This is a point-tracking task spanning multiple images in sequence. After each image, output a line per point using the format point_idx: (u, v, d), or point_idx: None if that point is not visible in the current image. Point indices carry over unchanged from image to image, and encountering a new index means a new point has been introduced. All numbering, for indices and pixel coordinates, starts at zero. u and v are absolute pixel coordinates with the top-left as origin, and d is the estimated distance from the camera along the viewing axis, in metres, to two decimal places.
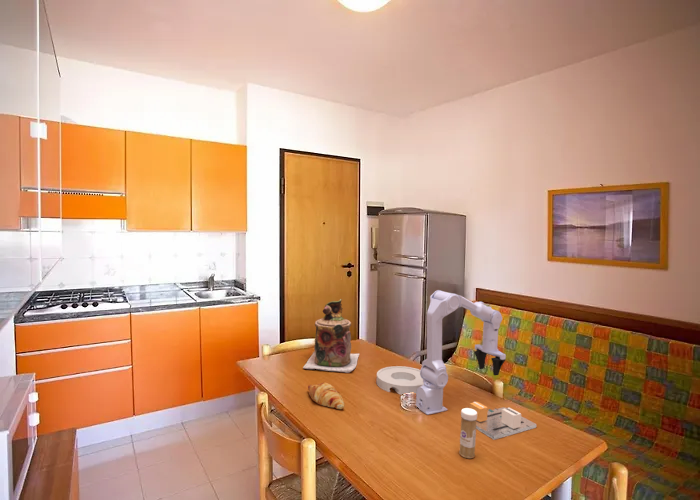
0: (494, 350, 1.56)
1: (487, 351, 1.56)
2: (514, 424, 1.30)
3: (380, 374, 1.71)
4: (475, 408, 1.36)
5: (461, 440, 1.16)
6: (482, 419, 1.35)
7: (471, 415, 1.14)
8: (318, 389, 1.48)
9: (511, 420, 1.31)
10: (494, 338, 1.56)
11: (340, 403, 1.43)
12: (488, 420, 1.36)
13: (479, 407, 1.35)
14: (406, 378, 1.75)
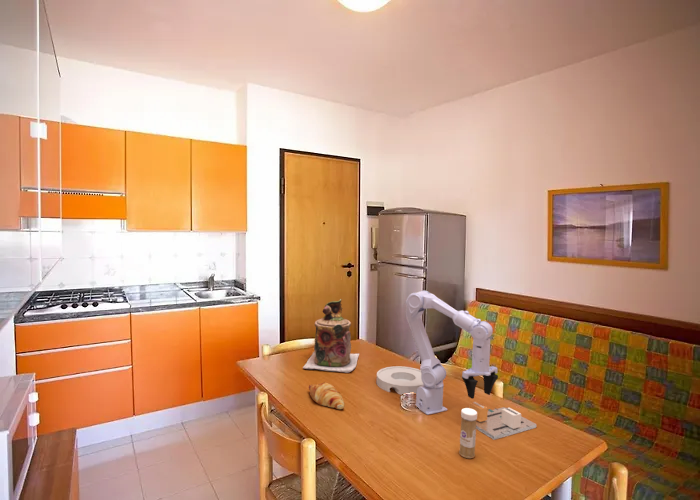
0: (473, 369, 1.35)
1: None
2: (514, 424, 1.30)
3: (380, 374, 1.71)
4: (475, 408, 1.36)
5: (461, 440, 1.16)
6: (482, 419, 1.35)
7: (471, 415, 1.14)
8: (318, 389, 1.49)
9: (511, 420, 1.31)
10: (476, 356, 1.34)
11: (340, 403, 1.43)
12: (488, 420, 1.36)
13: (479, 407, 1.35)
14: (406, 378, 1.75)
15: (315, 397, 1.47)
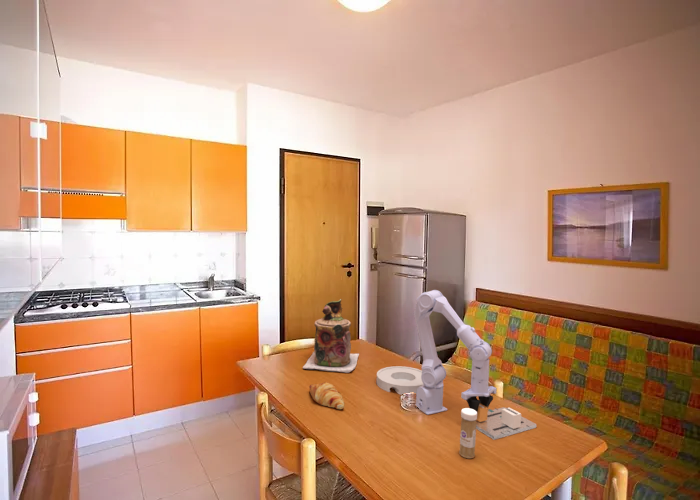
0: (472, 389, 1.36)
1: None
2: (514, 424, 1.30)
3: (380, 374, 1.71)
4: None
5: (461, 440, 1.16)
6: (482, 419, 1.35)
7: (471, 415, 1.14)
8: (319, 389, 1.49)
9: (511, 420, 1.31)
10: (475, 377, 1.35)
11: (340, 403, 1.43)
12: (488, 420, 1.36)
13: (479, 407, 1.35)
14: (406, 378, 1.75)
15: (315, 397, 1.47)
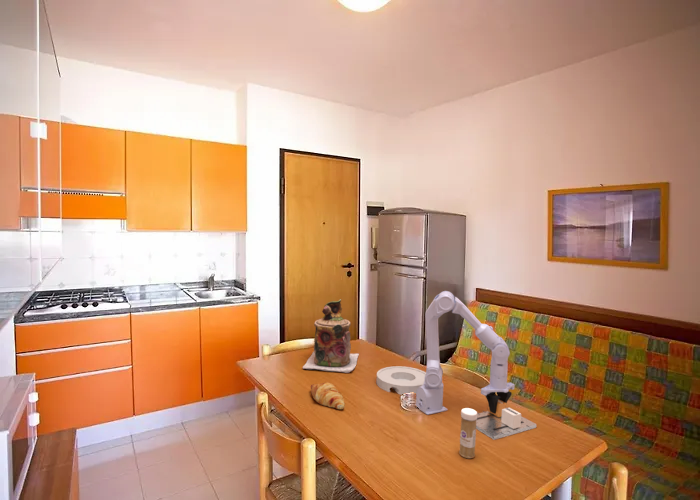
0: (491, 385, 1.40)
1: None
2: (514, 424, 1.30)
3: (380, 374, 1.71)
4: None
5: (461, 440, 1.16)
6: (501, 414, 1.39)
7: (471, 415, 1.14)
8: (319, 389, 1.49)
9: (511, 420, 1.31)
10: (497, 374, 1.38)
11: (340, 403, 1.43)
12: (488, 420, 1.36)
13: (498, 403, 1.39)
14: (406, 378, 1.75)
15: (316, 397, 1.47)
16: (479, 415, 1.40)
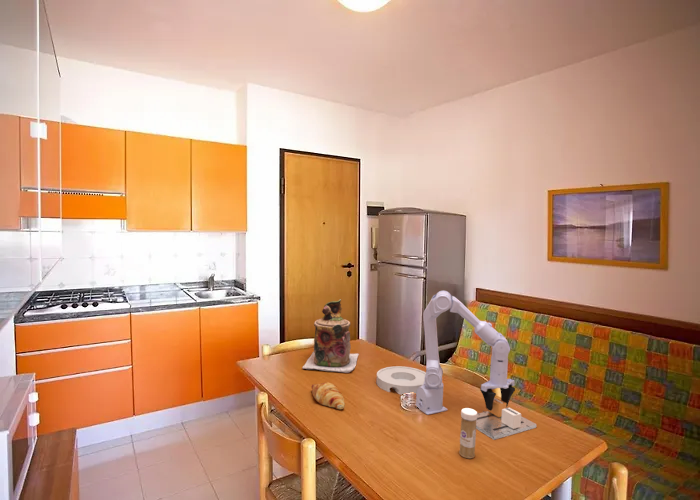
0: (491, 382, 1.40)
1: None
2: (514, 424, 1.30)
3: (380, 374, 1.71)
4: (494, 404, 1.40)
5: (461, 440, 1.16)
6: (501, 414, 1.39)
7: (471, 415, 1.14)
8: (320, 388, 1.49)
9: (511, 420, 1.31)
10: (497, 370, 1.38)
11: (340, 403, 1.43)
12: (488, 420, 1.36)
13: (498, 403, 1.39)
14: (406, 378, 1.75)
15: (316, 396, 1.48)
16: (479, 415, 1.40)
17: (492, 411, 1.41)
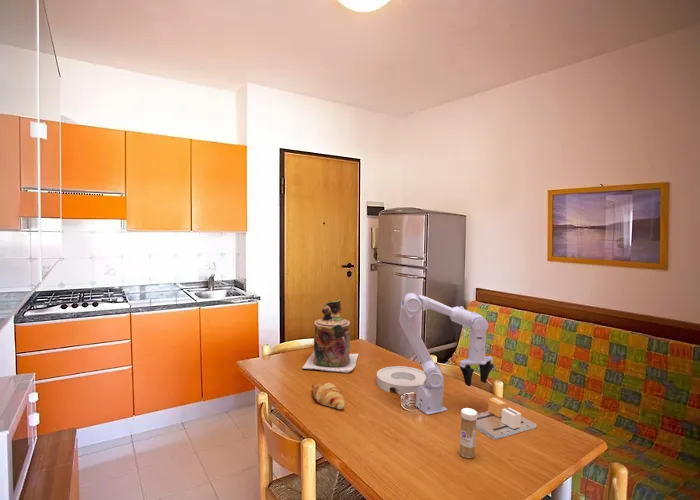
0: (470, 358, 1.44)
1: None
2: (514, 424, 1.30)
3: (380, 374, 1.71)
4: (494, 404, 1.40)
5: (461, 440, 1.16)
6: (501, 414, 1.39)
7: (471, 415, 1.14)
8: (320, 388, 1.49)
9: (511, 420, 1.31)
10: (477, 347, 1.42)
11: (340, 403, 1.43)
12: (488, 420, 1.36)
13: (498, 403, 1.39)
14: (406, 378, 1.75)
15: (316, 396, 1.48)
16: (479, 415, 1.40)
17: (492, 411, 1.41)
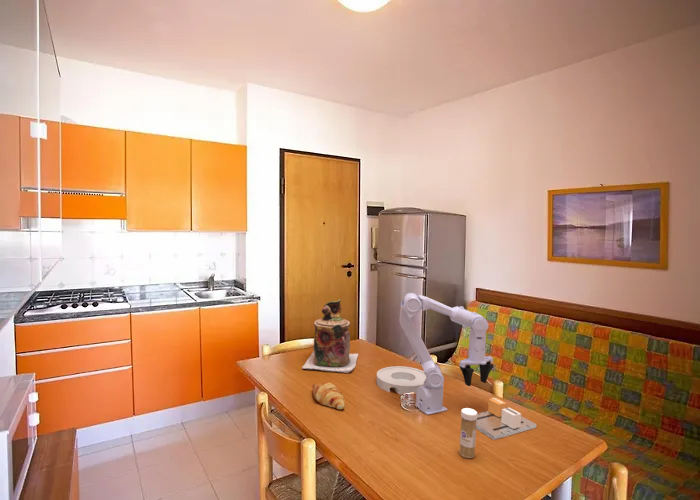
0: (470, 358, 1.44)
1: None
2: (514, 424, 1.30)
3: (380, 374, 1.71)
4: (494, 404, 1.40)
5: (461, 440, 1.16)
6: (501, 414, 1.39)
7: (471, 415, 1.14)
8: (320, 388, 1.49)
9: (511, 420, 1.31)
10: (477, 347, 1.42)
11: (340, 403, 1.43)
12: (488, 420, 1.36)
13: (498, 403, 1.39)
14: (406, 378, 1.75)
15: (316, 396, 1.48)
16: (479, 415, 1.40)
17: (492, 411, 1.41)
